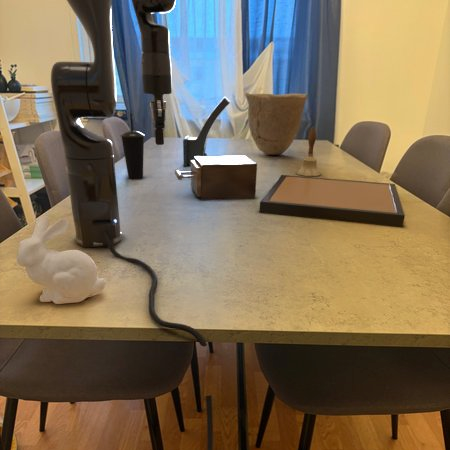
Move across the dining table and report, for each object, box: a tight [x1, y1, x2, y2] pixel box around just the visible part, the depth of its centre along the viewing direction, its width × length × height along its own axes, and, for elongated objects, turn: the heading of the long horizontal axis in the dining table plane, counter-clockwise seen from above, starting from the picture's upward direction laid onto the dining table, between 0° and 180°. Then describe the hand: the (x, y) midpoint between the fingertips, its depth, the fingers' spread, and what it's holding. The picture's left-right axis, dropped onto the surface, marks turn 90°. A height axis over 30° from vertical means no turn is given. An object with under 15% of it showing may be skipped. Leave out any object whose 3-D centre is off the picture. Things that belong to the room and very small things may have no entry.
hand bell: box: [297, 126, 321, 177], centre depth 154 cm, size 8×8×16 cm
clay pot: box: [244, 92, 309, 156], centre depth 187 cm, size 27×28×25 cm
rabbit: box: [16, 214, 106, 305], centre depth 67 cm, size 12×9×12 cm
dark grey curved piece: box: [182, 96, 232, 167], centre depth 163 cm, size 11×17×24 cm, turn 87°
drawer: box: [174, 160, 201, 198], centre depth 126 cm, size 20×12×8 cm, turn 103°
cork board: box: [259, 174, 406, 228], centre depth 123 cm, size 35×3×35 cm
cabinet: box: [194, 155, 258, 201], centre depth 127 cm, size 16×13×10 cm
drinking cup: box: [120, 112, 145, 180], centre depth 141 cm, size 8×8×20 cm
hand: (159, 144), depth 118 cm, fingers closed
